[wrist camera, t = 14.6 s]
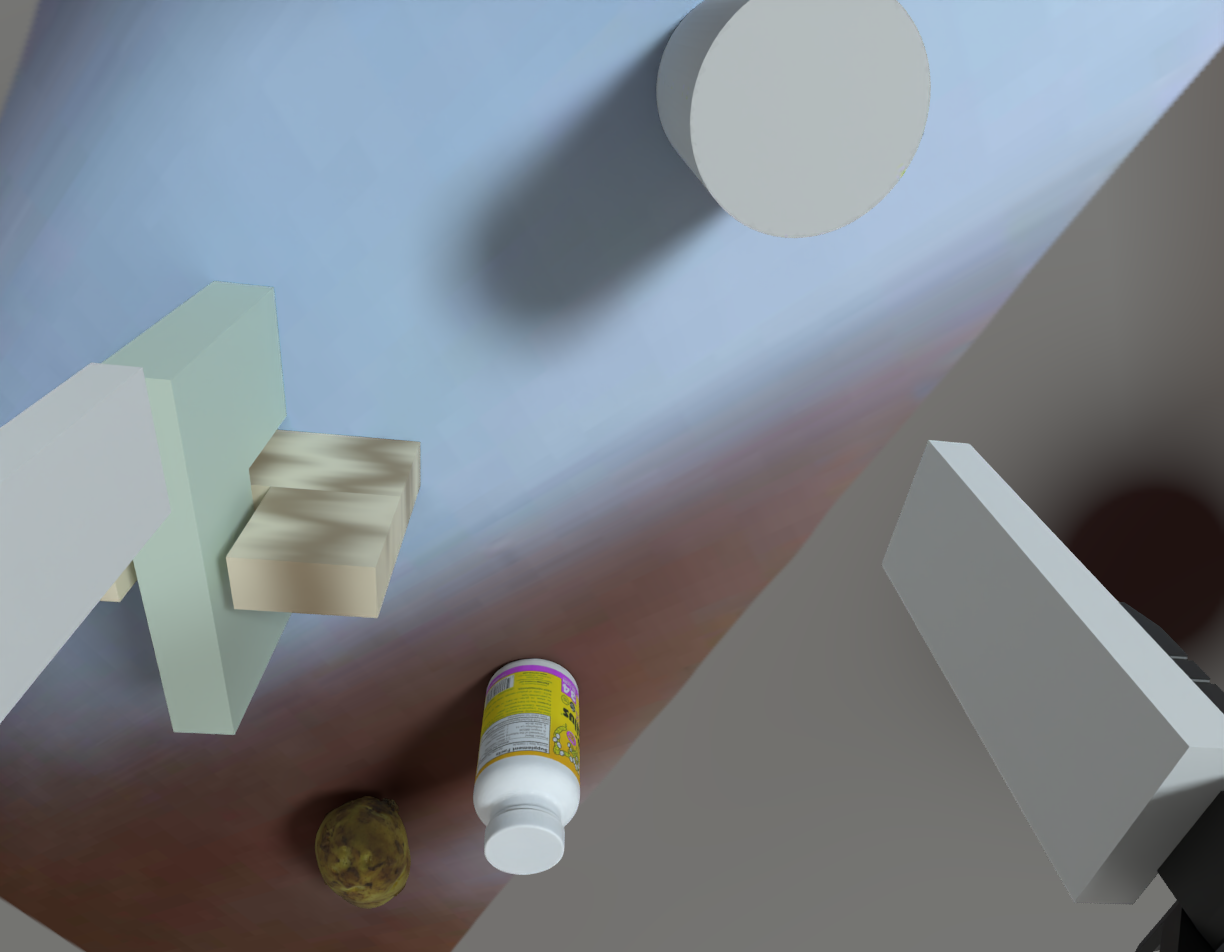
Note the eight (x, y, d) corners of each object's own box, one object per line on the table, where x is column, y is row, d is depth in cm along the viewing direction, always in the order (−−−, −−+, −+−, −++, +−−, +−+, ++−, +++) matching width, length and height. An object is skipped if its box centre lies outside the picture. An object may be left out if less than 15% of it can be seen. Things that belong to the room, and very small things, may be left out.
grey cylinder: (687, 204, 39) (729, 271, 29) (631, 31, 35) (657, 36, 25) (843, 141, 38) (947, 186, 27) (804, -46, 34) (908, -75, 23)
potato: (295, 844, 64) (262, 943, 57) (351, 750, 58) (322, 848, 51) (390, 870, 66) (370, 969, 59) (453, 782, 61) (438, 880, 54)
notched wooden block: (105, 460, 45) (-34, 592, 34) (94, 414, 43) (-55, 537, 33) (420, 485, 46) (377, 617, 36) (420, 441, 45) (375, 567, 35)
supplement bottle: (577, 719, 58) (579, 885, 47) (488, 719, 57) (469, 887, 46) (579, 653, 54) (582, 815, 43) (485, 653, 54) (463, 816, 43)
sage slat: (213, 280, 40) (88, 372, 29) (273, 287, 40) (170, 380, 30) (255, 584, 50) (173, 732, 39) (303, 587, 50) (234, 734, 40)
